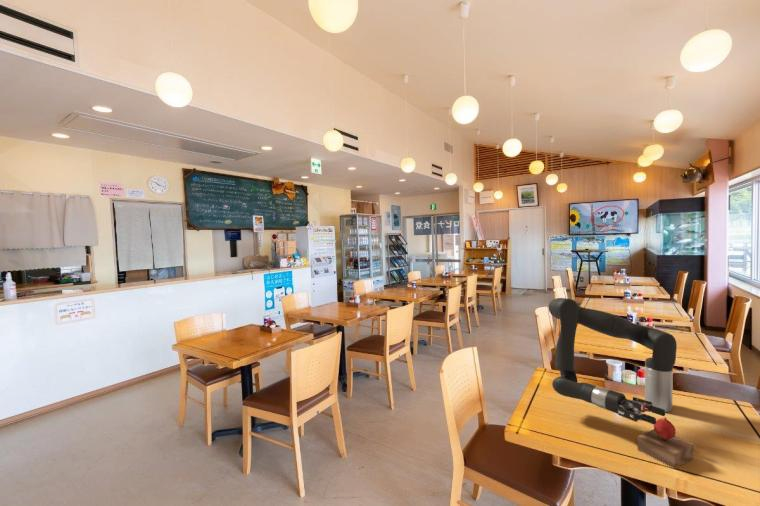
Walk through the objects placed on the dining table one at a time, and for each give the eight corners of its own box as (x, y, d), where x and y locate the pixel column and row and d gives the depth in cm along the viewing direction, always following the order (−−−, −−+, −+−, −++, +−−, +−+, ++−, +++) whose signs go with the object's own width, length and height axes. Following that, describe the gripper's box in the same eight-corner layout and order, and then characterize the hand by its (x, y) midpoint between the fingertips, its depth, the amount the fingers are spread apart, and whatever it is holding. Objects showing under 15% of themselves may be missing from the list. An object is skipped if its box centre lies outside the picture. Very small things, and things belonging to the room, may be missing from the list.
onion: (649, 435, 122) (649, 413, 122) (664, 434, 123) (664, 411, 123) (664, 445, 117) (664, 421, 116) (680, 443, 117) (680, 420, 117)
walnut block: (655, 441, 127) (656, 427, 127) (693, 458, 117) (693, 444, 117) (637, 450, 123) (637, 436, 122) (674, 468, 113) (674, 453, 112)
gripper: (599, 395, 129) (652, 413, 116) (616, 384, 137) (668, 400, 124) (599, 415, 130) (652, 435, 116) (616, 403, 138) (667, 420, 124)
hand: (660, 417), depth 120 cm, fingers open, 8 cm apart
